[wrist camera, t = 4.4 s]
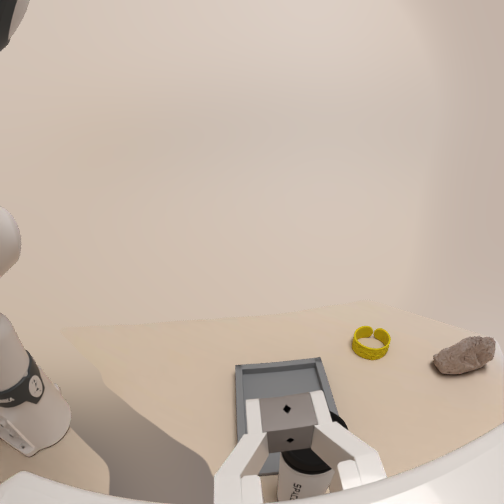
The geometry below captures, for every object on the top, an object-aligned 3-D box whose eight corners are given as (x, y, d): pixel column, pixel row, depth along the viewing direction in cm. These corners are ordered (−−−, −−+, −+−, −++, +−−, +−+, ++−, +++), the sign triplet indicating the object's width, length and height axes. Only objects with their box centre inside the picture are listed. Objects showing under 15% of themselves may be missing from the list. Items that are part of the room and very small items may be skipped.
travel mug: (306, 469, 35) (325, 393, 26) (329, 500, 29) (365, 439, 21) (268, 486, 33) (267, 419, 24) (289, 520, 27) (304, 474, 19)
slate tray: (240, 476, 34) (238, 471, 33) (236, 373, 54) (235, 365, 53) (347, 462, 35) (350, 456, 34) (319, 365, 55) (320, 357, 54)
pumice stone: (479, 350, 50) (495, 315, 46) (491, 373, 44) (510, 337, 39) (426, 356, 53) (440, 319, 49) (435, 382, 46) (452, 345, 42)
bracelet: (386, 363, 53) (390, 351, 52) (349, 357, 56) (351, 346, 55) (388, 339, 59) (391, 328, 58) (353, 334, 62) (356, 323, 61)
